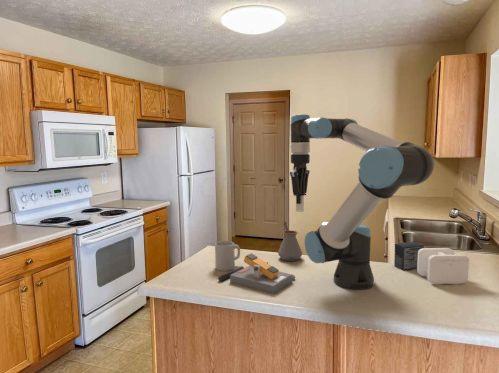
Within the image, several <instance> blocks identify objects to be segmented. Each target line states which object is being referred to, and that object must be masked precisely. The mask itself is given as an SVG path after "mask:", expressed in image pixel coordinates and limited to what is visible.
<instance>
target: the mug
mask: <svg viewBox="0 0 499 373" xmlns="http://www.w3.org/2000/svg"><path fill="white" fill-rule="evenodd" d="M235 249H236V251H237V253H236V255H235ZM214 250H215V252H214V253H215V254H214V255H215V258H214V260H215V263H214V264H215V269H216V270H217V271H221V272H222V271H223V272H226V271H227V272H229V271H232V270H234V269H236V266H235V265H236V263H235V261H236V260H238V259H239V258H240V256H241V248H240V246H239V244H235V242H234V241H230V240H222V241H221V240H219V241H217V242H215V244H214Z"/></svg>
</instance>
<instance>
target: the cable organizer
mask: <svg viewBox="0 0 499 373" xmlns="http://www.w3.org/2000/svg"><path fill="white" fill-rule="evenodd" d="M469 269H470V258H469V257H468V256H467V255H465V254H460V253H459V254H455V250H453V249H452V248H449V247H437V248H436V247H434V248H433V247H432V248H431V247H428V248H427V247H424V248H422V249H420V250H419V251H418V260H417V269H416V272H417V274H419V276H421V277H424V278H427V280H428V282H430V283H431V284H433V285H440V286H441V285H446V284H447V285H448V284H449V285H450V284H451V285H460V284H465V283H466V282H468V280H469V271H470V270H469Z"/></svg>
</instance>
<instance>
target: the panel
mask: <svg viewBox="0 0 499 373" xmlns="http://www.w3.org/2000/svg"><path fill="white" fill-rule="evenodd" d="M263 261H264V262H266V263H267V264H269V261H265V260H263ZM292 275H293V274H292V273H288V272H282V271H279V273H278V276H277V277H275V278H274V279H270V278H269V277H267V276H266V275H264V274H262V273H261V272H260V266H259V265H254V268H253V267H251V266H250V265H248V266H246V267H244V269H242V270H240V271H238V272H235V273H233V274H231V275H230V277H229V280H230V281H229V282H230V283H231V284H236V285H239V286H242V287H245V288H246V287H247V288H249V289H254V290H258V291H261V292H265V293H268V294H272V295H274V294H276V293H277V292H279V291H280V290H282V289H284V288H285V287H288V285H290V284H292V283H293V279H292Z"/></svg>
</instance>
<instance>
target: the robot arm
mask: <svg viewBox="0 0 499 373" xmlns="http://www.w3.org/2000/svg"><path fill="white" fill-rule="evenodd" d="M310 117H311V116H310V115H309V114H303V113H301V114H299V113H298V114H293V115H292V116H291V118H290V153H292V154H290V163H291V164H293V167H292V171H290V172H289V174H290V178H291V186H292V194H293V196H294V197H295V211H296V212H301V213H303V212H304V210H305V208H304V207H305V206H304V205H305V201H304V199H305V197H304V196H307V192H308V185H309V184H308V183H309V175H310V170H309V169H308V168H307V167H308V166H307V164H309V163H310V154H309V153H310V152H311V147H310V146H311V145H310V142H311V141H310V139H316V140H317V139H321V140H322V139H340V140H341V141H344V142H346V143H349V144H350V145H352V146H354V147H356V148H359V149H360V150H362V151H365V153H364V154H363V156H362V157H361V158H360V161H359V164H358V166H359V168H358V169H357V170H358V181H359V182H358V183H357V184H356V185H355V187H354V188H353V189H352V191H350V194H349V195H348V197H346V199H345V200H344V201H343V203H342V204H340V205H341V206H339V208H338V209H337V210H336V212H335V213H334V215H333V216H332V217H331V218H330V220H326V221H324V222H322V223H321V224H320V225H319V227H318V228H317V229H316V230H314V231H313V230H312V231H311V230H310V231H309V232H307V233H306V234H305V236H304V243H303V244H304V248H305V249H304V250H305V252H306V254H307V258H309V260H310V261H311V262H313V263H314V264H324V263H328V262H329V263H330V262H335V261H338V262H337V266H336V268H335V271H334V274H333V282H334V284H336V285H337V286H339V287H342V288H345V289H351V290H366V289H371V288H372V287H374V285H375V277H374V274H373V271H372V267H371V262H370V260H371V258H370V257H371V243H372V242H371V238H372V237H371V236H372V235H371V229H370V227H369V226H367V225H365V224H363V222H364V221H365V220H366V218H367V217H368V216H369V215H370V214H371V213H372V212H373V211H374V209H375V208H377V206H378V205H379V204H380V203H381V202H382V201H383V200H388V199H391V198H392V197H393V196H394V195H395V194H396V193H397V192H398V190H400V189H401V187H406V186H407V187H409V186H417V185H420V184H423V183H424V182H426V181H427V180H428V179H429V178H430V177H431V175H432V174H433V172H434V168H435V160H434V157H433V156H432V153H431V152H430V151H429V150H428V149H426V148H425V147H422V146H420V145H419V144H418V145H417V144H415V143H413V142H409V141H405V142H403V141H402V142H401V141H399V140H396V139H394V138H391V137H389V136H386V135H385V134H381V133H380V132H377V131H374V130H373V129H369V128H367V127H365V126H362V125H360V124H358V122H357V121H356V120H355V119H351V118H327V117H323V116H322V117H320V116H319V117H313V118H310Z"/></svg>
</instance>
